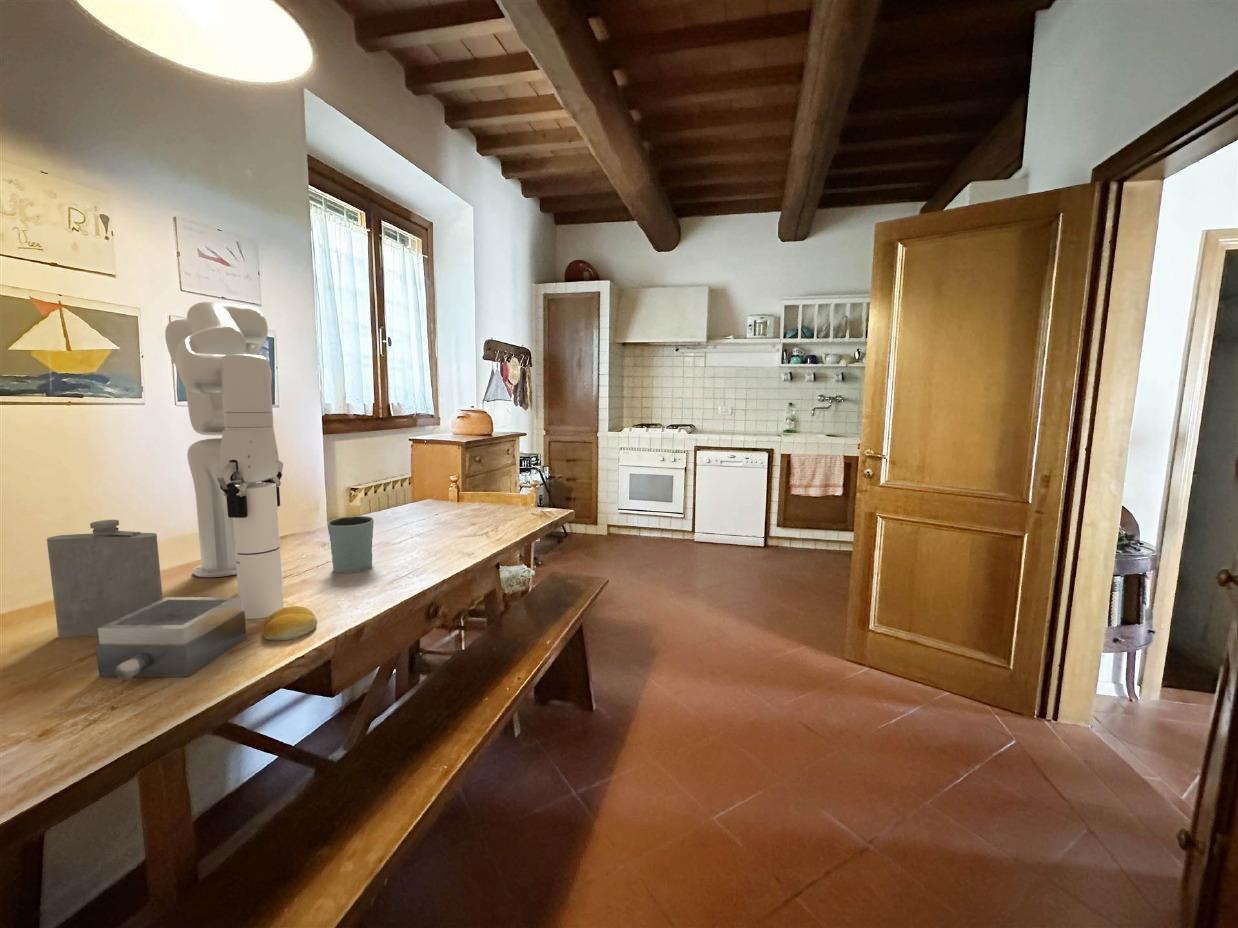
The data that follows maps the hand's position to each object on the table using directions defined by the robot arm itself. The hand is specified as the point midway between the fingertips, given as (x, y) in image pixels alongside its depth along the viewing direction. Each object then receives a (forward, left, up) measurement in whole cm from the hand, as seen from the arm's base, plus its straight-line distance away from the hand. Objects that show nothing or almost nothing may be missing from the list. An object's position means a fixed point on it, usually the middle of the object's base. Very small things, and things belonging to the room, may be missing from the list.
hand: (255, 511), depth 101 cm
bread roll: (+8, +10, -20) cm, 24 cm away
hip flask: (+9, -20, -20) cm, 30 cm away
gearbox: (+19, -2, -20) cm, 28 cm away
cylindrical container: (0, 0, -20) cm, 20 cm away
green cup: (-27, +5, -20) cm, 34 cm away
